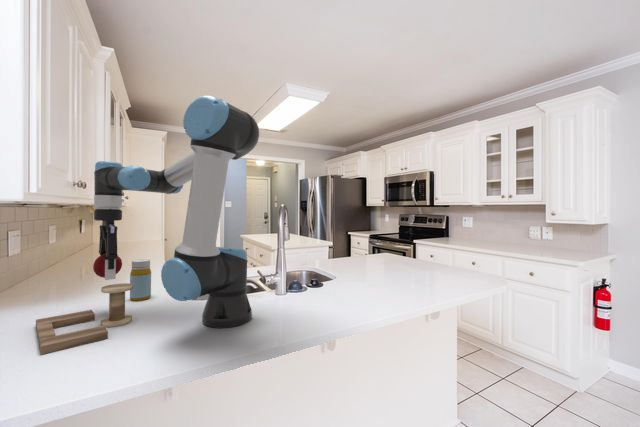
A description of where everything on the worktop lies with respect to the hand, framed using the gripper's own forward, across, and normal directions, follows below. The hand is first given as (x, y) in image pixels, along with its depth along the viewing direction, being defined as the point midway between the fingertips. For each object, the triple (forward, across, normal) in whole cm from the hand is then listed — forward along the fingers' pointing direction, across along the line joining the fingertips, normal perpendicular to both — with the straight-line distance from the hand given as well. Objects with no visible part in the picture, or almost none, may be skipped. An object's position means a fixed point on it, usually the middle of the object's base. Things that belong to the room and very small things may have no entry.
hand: (107, 276), depth 97 cm
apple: (0, 0, 0) cm, 0 cm away
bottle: (+12, +12, -13) cm, 21 cm away
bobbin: (+12, -11, -1) cm, 17 cm away
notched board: (+12, -11, +10) cm, 20 cm away
